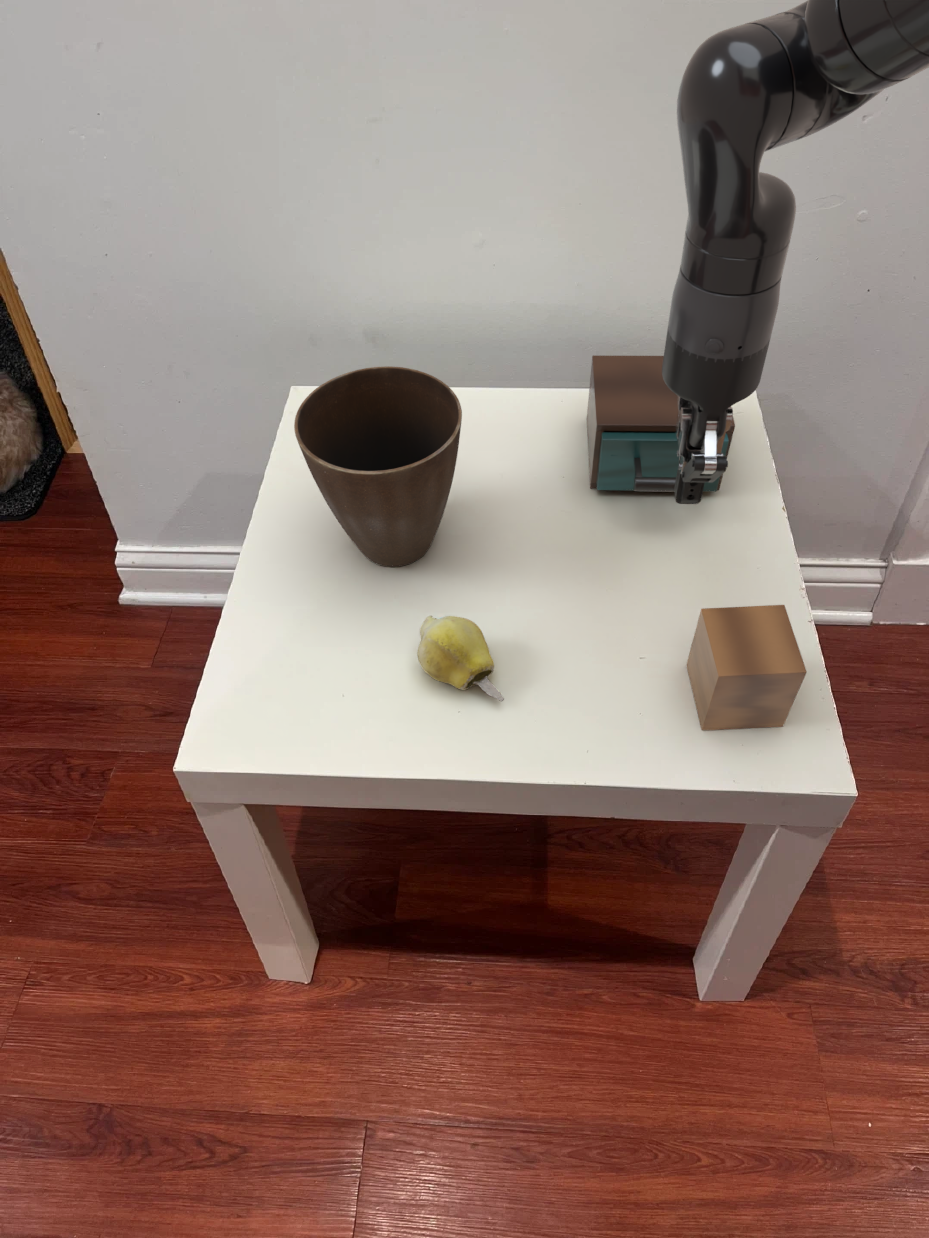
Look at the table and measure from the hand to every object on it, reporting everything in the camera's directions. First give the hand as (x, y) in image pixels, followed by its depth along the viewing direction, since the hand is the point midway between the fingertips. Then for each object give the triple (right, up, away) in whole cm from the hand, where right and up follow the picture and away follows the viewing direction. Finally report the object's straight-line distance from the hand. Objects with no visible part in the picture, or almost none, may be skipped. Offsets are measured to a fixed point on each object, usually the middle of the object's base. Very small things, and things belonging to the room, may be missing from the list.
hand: (686, 497), depth 82 cm
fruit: (-20, -16, +2) cm, 25 cm away
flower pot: (-27, -3, +13) cm, 30 cm away
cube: (+4, -17, 0) cm, 18 cm away
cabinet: (+1, +8, +20) cm, 21 cm away
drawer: (+1, +5, +17) cm, 18 cm away
